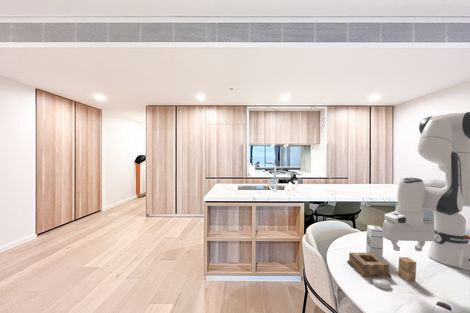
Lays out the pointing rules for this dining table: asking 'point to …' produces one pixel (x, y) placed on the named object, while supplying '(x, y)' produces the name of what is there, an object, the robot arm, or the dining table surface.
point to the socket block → (369, 265)
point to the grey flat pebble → (381, 283)
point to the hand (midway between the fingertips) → (407, 250)
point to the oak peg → (407, 269)
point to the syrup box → (374, 240)
